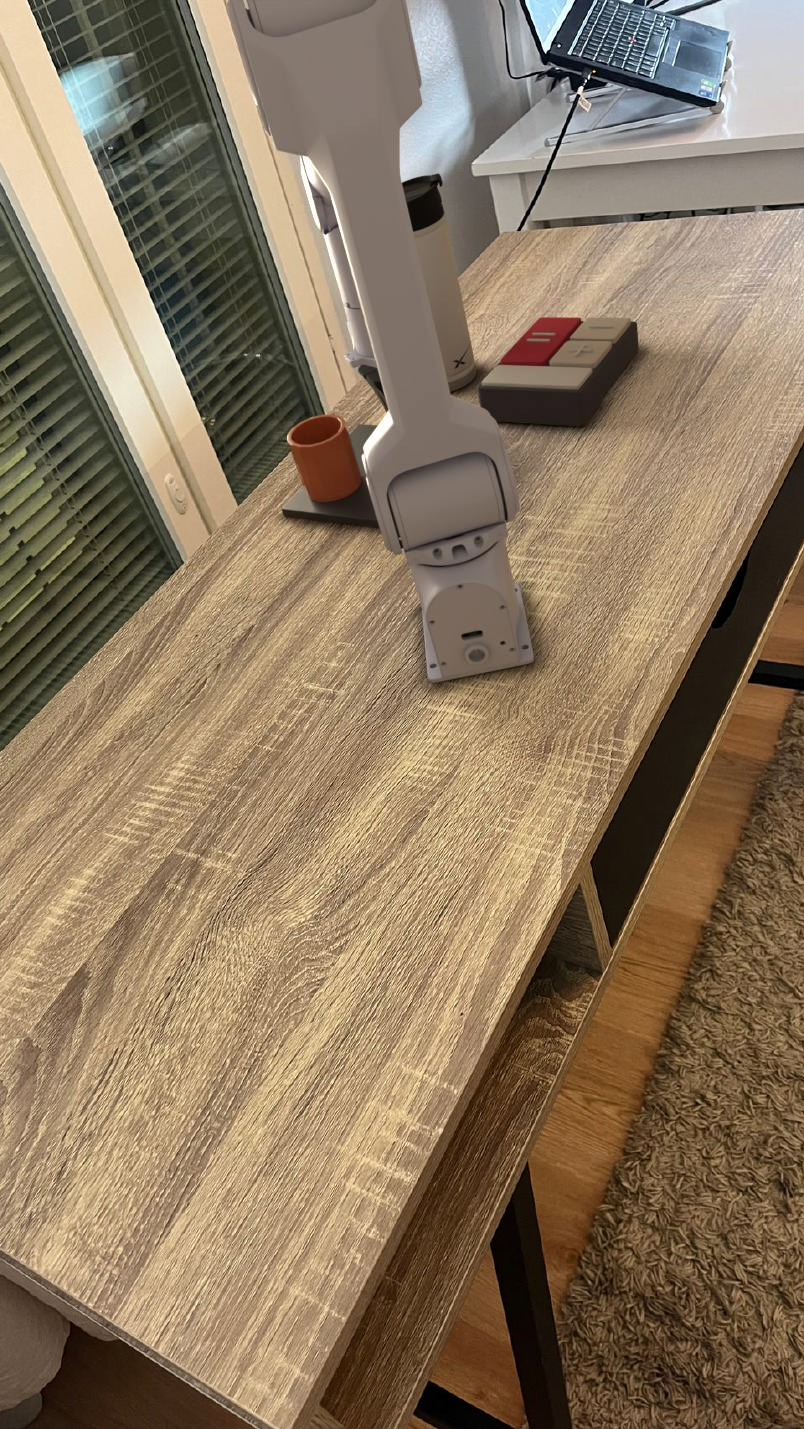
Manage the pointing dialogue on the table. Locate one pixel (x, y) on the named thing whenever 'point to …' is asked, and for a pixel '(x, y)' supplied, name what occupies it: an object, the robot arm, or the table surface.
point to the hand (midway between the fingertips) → (409, 431)
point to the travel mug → (440, 277)
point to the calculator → (559, 370)
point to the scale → (347, 509)
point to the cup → (325, 458)
